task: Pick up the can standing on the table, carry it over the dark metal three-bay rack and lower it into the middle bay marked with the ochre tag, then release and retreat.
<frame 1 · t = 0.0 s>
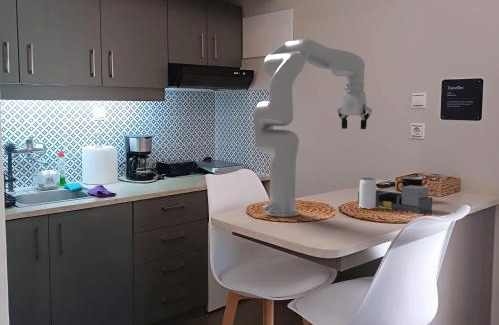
hand: (353, 128, 216), 31 cm above the table, fingers open, 9 cm apart
can: (367, 208, 200), on the table
rack: (393, 207, 203), on the table
coffee mug: (408, 200, 219), on the table
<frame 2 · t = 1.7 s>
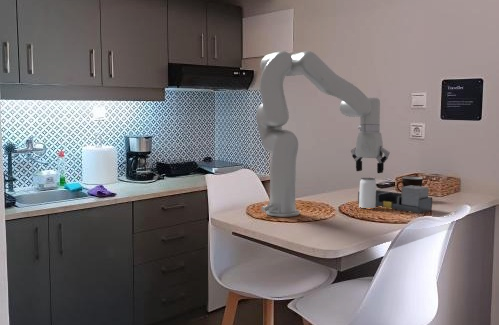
hand: (369, 171, 199), 15 cm above the table, fingers open, 9 cm apart
nothing on the table moved.
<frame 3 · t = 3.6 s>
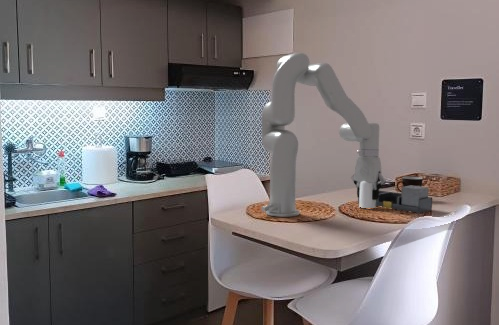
hand: (367, 197, 200), 4 cm above the table, fingers closed on can, 6 cm apart
can: (367, 208, 200), on the table, touching gripper
everything else where it was.
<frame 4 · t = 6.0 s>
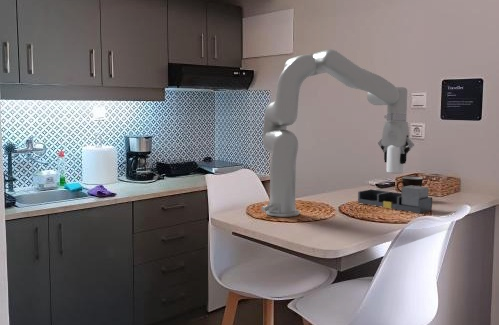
hand: (394, 162, 201), 18 cm above the table, fingers closed on can, 6 cm apart
can: (394, 173, 202), point 14 cm above the table, touching gripper
everything else where it was.
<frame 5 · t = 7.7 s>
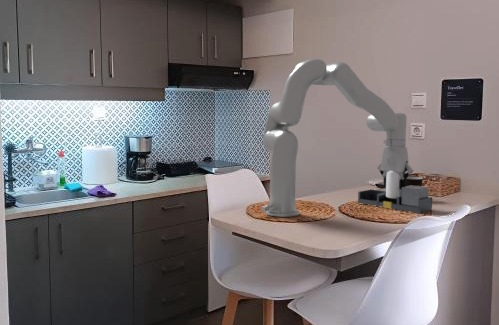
hand: (394, 187, 202), 8 cm above the table, fingers closed on can, 6 cm apart
can: (393, 198, 203), point 4 cm above the table, touching gripper
everything else where it was.
when the fingers open (7 cm above the table, at t = 8.9 s): can drops 1 cm, resting on rack.
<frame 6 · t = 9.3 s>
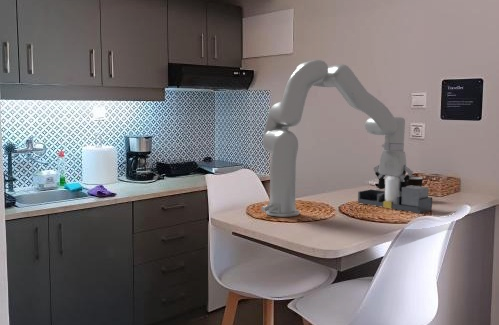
hand: (391, 189, 203), 7 cm above the table, fingers open, 9 cm apart
can: (392, 204, 203), point 1 cm above the table, touching rack
everything else where it was.
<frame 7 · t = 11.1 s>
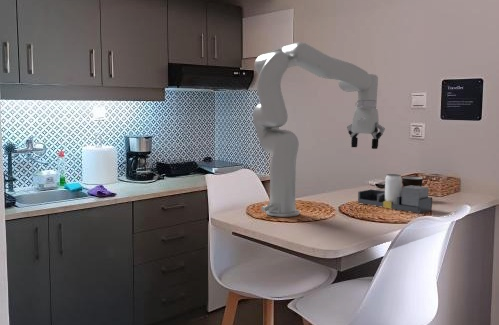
hand: (364, 147, 201), 24 cm above the table, fingers open, 9 cm apart
nothing on the table moved.
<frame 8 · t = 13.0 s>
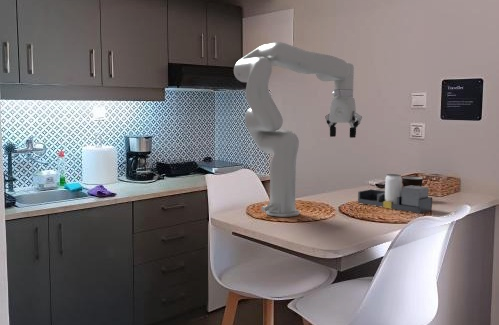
hand: (342, 137, 202), 28 cm above the table, fingers open, 9 cm apart
nothing on the table moved.
at the end: can 0.4 cm off-centre on the rack, point 1.0 cm above the rack's base; can tilted 0°; the gripper is holding nothing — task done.
